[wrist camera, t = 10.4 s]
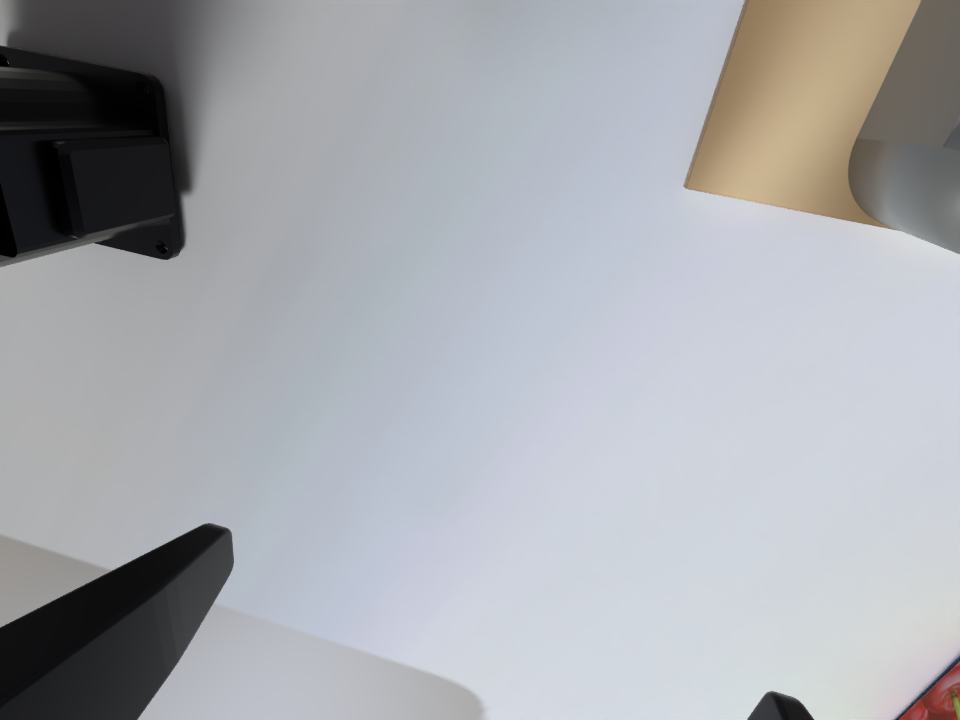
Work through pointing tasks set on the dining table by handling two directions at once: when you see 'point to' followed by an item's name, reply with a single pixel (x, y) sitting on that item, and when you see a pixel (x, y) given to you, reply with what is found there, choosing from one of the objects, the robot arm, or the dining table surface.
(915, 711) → the snack box
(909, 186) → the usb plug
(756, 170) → the cork pad
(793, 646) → the dining table surface
